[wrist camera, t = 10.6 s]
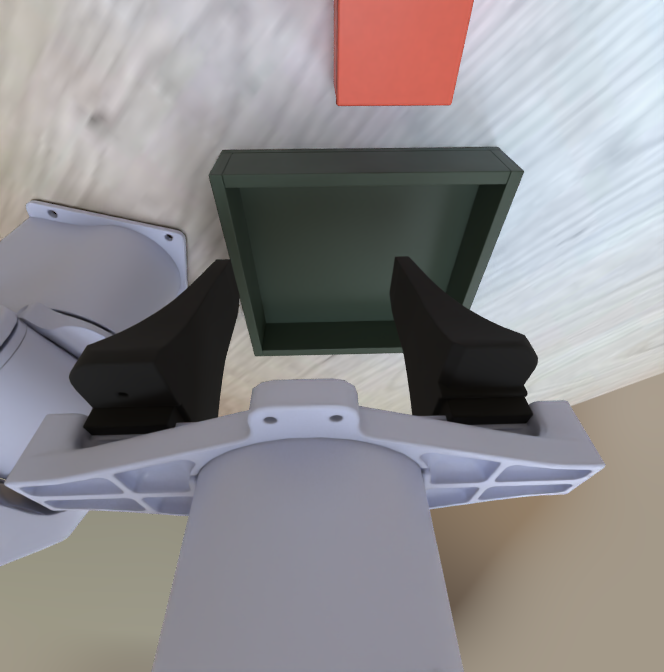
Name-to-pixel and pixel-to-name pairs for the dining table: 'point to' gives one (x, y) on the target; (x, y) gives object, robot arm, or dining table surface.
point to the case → (398, 51)
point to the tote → (354, 236)
